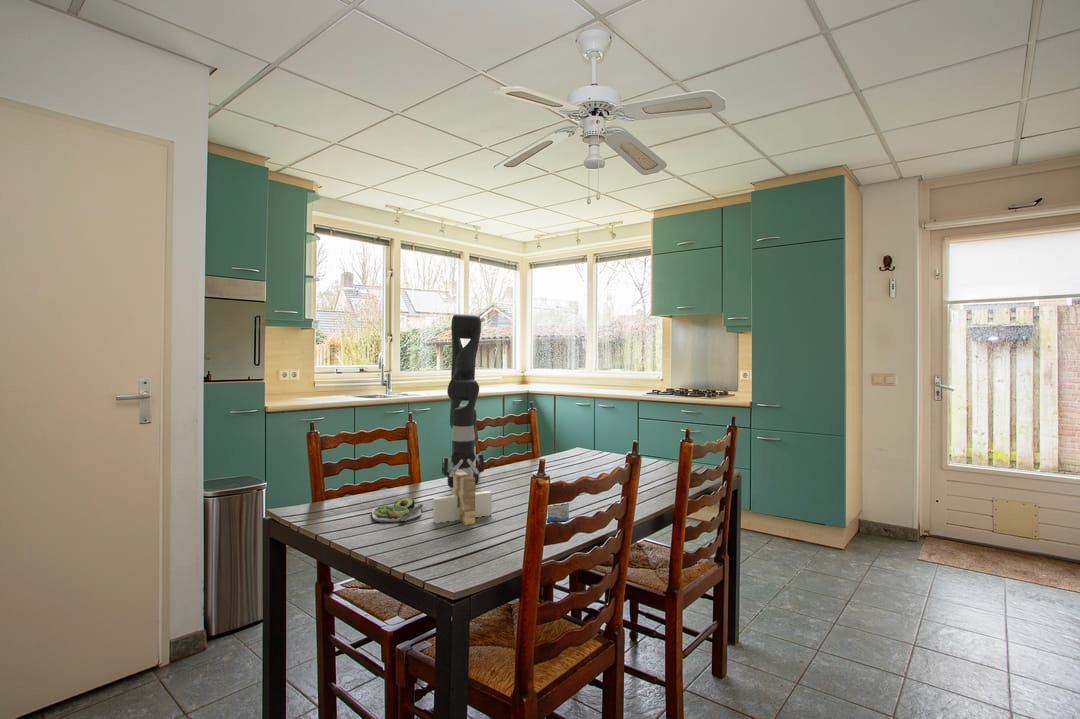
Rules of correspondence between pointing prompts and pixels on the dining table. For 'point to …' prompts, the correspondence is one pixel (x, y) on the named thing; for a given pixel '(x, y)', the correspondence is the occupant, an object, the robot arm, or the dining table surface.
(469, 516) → the tan thick flat block
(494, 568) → the dining table surface
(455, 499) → the slotted board
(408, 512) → the salad plate
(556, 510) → the medicine box
